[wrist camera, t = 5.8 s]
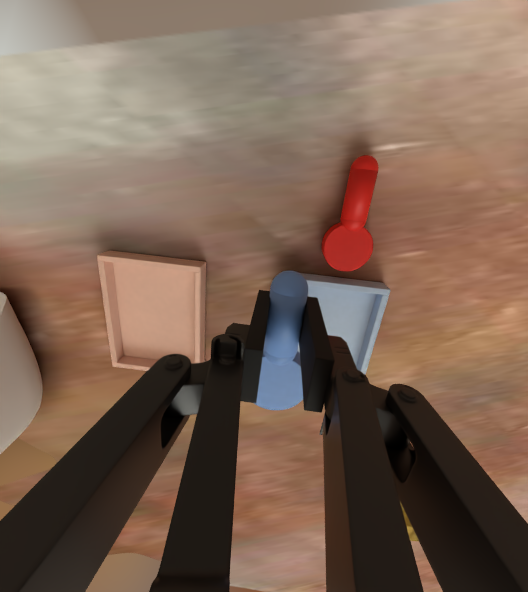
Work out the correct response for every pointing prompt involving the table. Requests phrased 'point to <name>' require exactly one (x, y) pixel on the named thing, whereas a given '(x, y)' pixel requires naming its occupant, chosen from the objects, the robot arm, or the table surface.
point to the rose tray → (152, 307)
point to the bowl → (16, 377)
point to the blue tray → (350, 311)
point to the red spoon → (353, 220)
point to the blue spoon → (283, 343)
